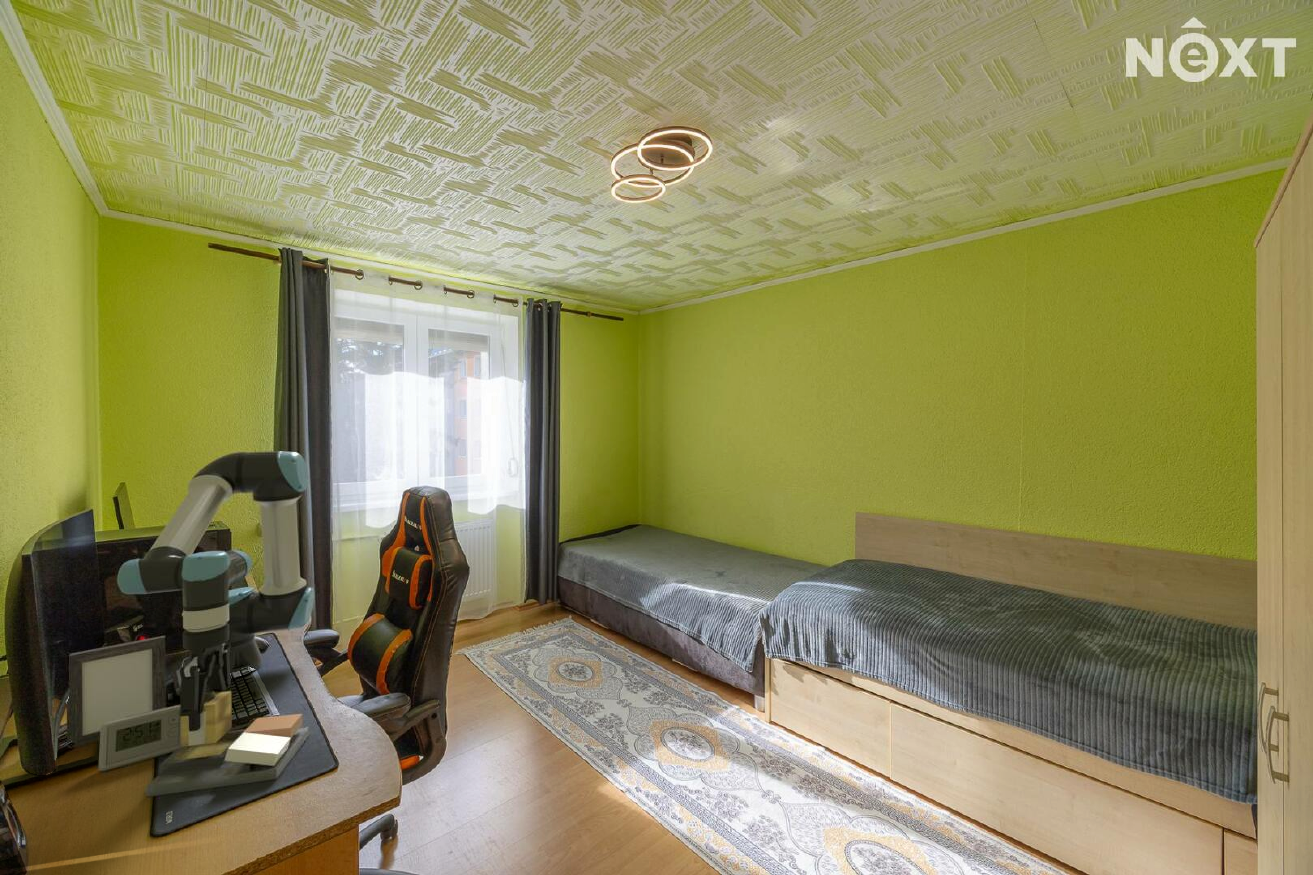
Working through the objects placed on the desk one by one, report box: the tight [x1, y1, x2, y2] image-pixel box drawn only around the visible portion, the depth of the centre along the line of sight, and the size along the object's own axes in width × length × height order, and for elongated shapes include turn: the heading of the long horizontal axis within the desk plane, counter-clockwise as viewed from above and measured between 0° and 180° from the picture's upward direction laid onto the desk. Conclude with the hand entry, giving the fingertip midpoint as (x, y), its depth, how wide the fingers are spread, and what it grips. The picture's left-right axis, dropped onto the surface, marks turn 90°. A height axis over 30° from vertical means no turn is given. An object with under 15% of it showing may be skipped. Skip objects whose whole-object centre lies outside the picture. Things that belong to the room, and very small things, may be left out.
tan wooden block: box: [181, 690, 233, 747], centre depth 112 cm, size 6×6×9 cm
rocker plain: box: [225, 732, 291, 766], centre depth 109 cm, size 6×9×2 cm, turn 103°
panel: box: [145, 726, 310, 798], centre depth 112 cm, size 16×22×4 cm
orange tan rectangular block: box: [243, 713, 304, 738], centre depth 117 cm, size 6×9×2 cm, turn 103°
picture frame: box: [66, 635, 167, 748], centre depth 123 cm, size 16×2×21 cm, turn 133°
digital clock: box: [98, 704, 182, 772], centre depth 115 cm, size 14×8×9 cm, turn 117°
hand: (207, 734), depth 112 cm, fingers closed on tan wooden block, 6 cm apart
